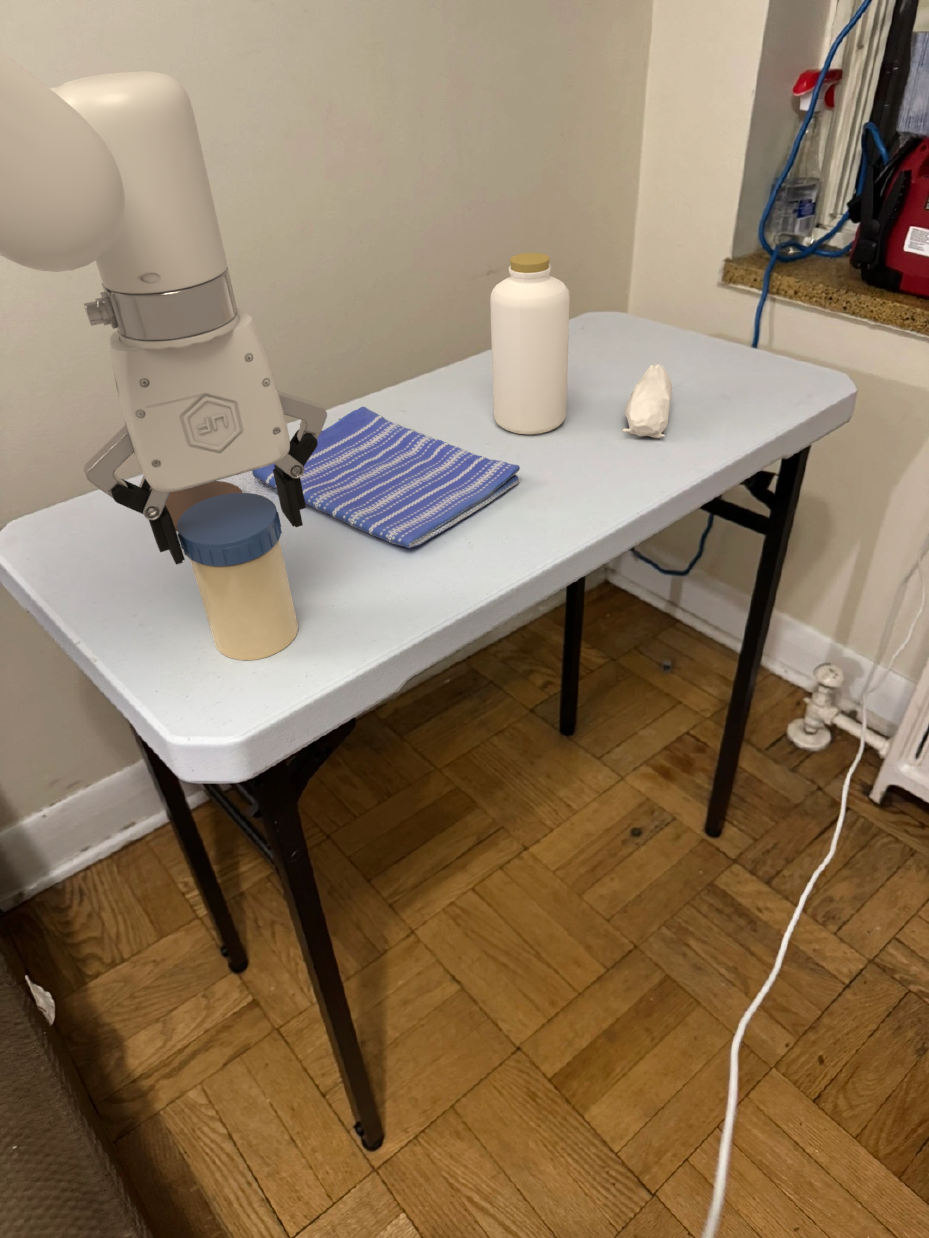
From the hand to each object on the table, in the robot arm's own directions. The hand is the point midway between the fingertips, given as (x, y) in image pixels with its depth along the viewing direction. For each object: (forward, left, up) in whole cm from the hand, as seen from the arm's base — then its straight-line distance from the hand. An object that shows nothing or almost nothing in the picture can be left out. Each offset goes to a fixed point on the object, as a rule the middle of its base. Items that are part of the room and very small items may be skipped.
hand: (235, 535), depth 65 cm
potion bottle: (+39, +21, -10) cm, 45 cm away
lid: (0, 0, +1) cm, 1 cm away
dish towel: (+19, +17, -10) cm, 27 cm away
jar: (0, 0, -9) cm, 9 cm away
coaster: (+1, +23, -9) cm, 25 cm away
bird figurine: (+50, +13, -10) cm, 52 cm away
